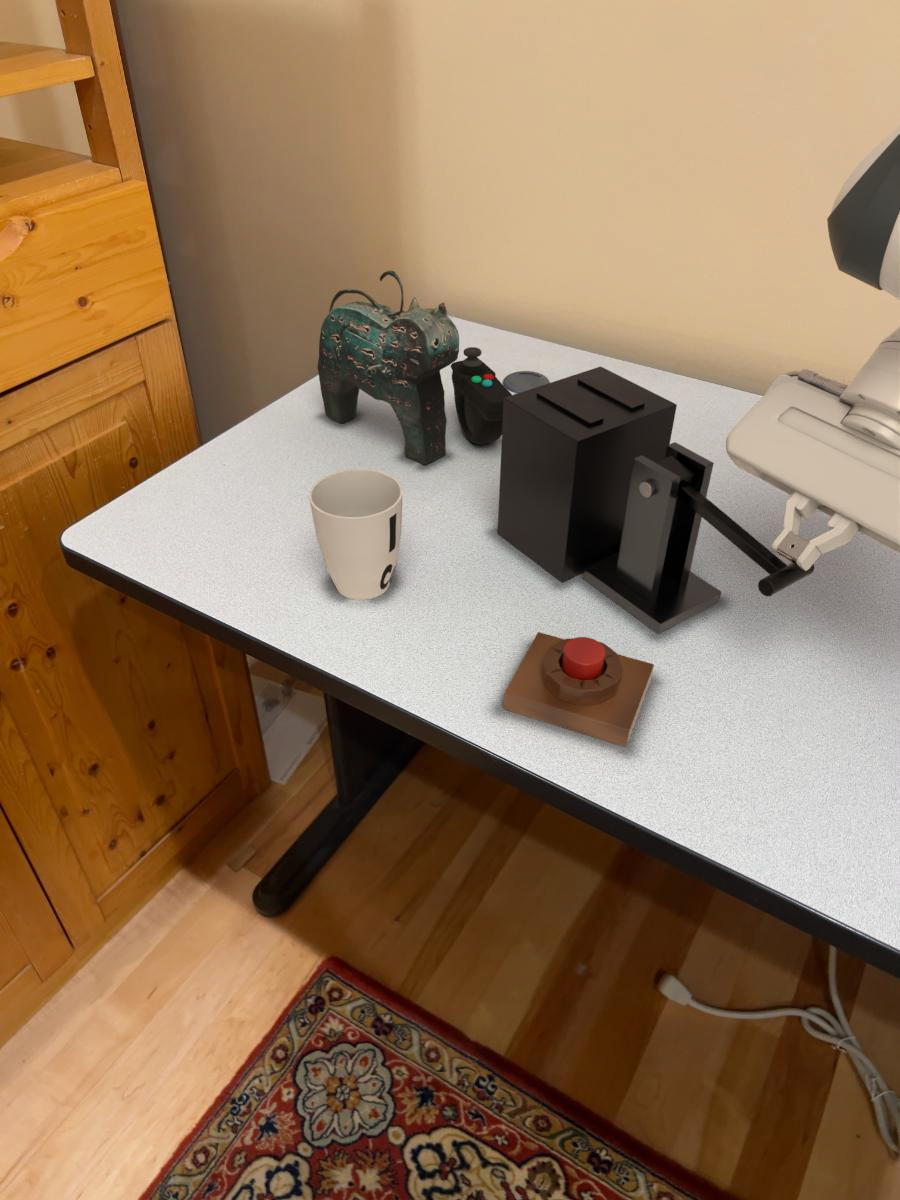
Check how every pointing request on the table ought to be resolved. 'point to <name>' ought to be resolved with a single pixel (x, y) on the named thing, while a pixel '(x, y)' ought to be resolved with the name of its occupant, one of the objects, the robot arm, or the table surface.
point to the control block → (579, 692)
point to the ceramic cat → (389, 366)
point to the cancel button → (583, 658)
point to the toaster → (575, 465)
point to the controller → (478, 398)
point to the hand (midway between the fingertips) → (788, 559)
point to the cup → (358, 529)
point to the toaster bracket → (658, 547)
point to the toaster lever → (736, 533)
